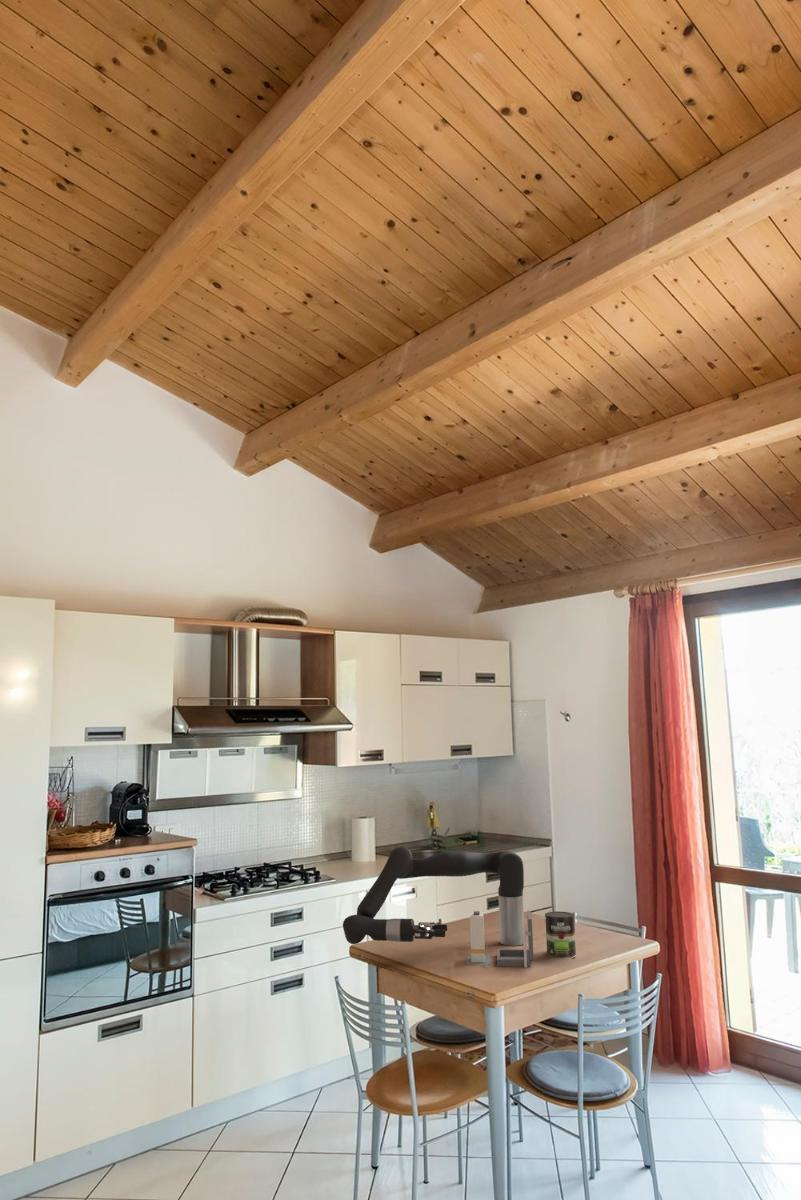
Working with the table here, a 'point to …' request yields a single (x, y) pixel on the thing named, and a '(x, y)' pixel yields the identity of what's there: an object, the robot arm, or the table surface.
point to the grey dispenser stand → (518, 950)
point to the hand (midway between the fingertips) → (446, 930)
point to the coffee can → (560, 934)
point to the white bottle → (477, 937)
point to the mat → (487, 962)
